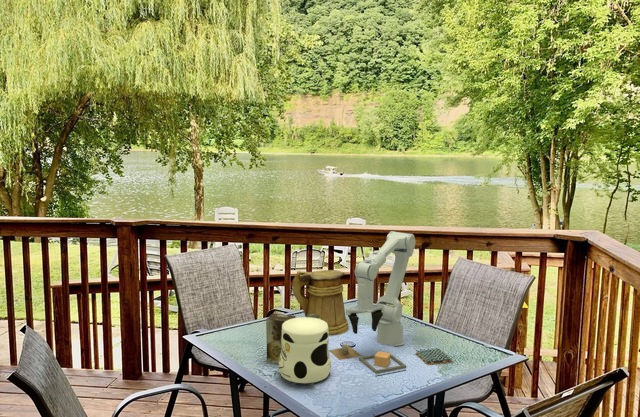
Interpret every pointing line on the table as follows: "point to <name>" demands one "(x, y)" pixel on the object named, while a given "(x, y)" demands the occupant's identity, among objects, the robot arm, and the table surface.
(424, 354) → the woven mat
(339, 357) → the post base
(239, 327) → the table surface
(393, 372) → the tray
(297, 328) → the milk container
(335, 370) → the table surface
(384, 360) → the orange cube
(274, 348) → the coffee box
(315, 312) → the tankard
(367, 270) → the robot arm
